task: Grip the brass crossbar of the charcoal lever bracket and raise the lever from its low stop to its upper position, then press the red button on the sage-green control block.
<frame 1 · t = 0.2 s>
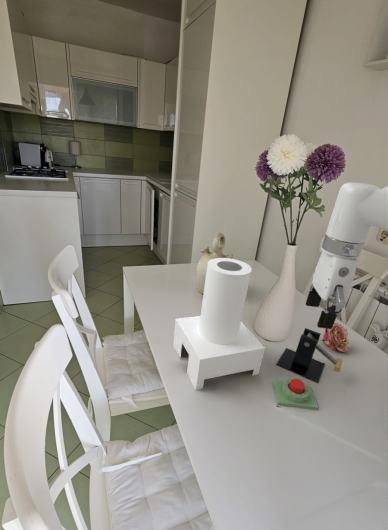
hand: (317, 316, 71), 23 cm above the table, tool pointing down, fingers open, 9 cm apart
flower: (333, 348, 101), on the table
button block: (292, 397, 79), on the table
bracket: (300, 367, 91), on the table
lever: (322, 351, 85), point 8 cm above the table, hinge at -25.0°
button: (296, 386, 77), point 4 cm above the table, slide at 0.2 cm
paper towel holder: (213, 361, 89), on the table
jug: (212, 291, 130), on the table
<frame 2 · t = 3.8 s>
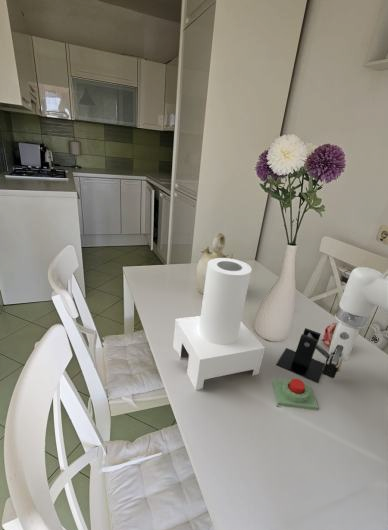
hand: (329, 369, 86), 3 cm above the table, tool pointing down, fingers closed on lever, 5 cm apart
lever: (322, 351, 85), point 8 cm above the table, hinge at -25.4°, touching gripper
everything else where it was.
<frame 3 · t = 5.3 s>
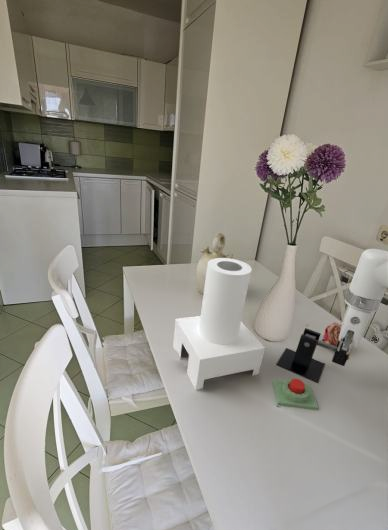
hand: (339, 357, 83), 8 cm above the table, tool pointing down, fingers closed on lever, 5 cm apart
lever: (326, 345, 84), point 10 cm above the table, hinge at 2.0°, touching gripper
everything else where it was.
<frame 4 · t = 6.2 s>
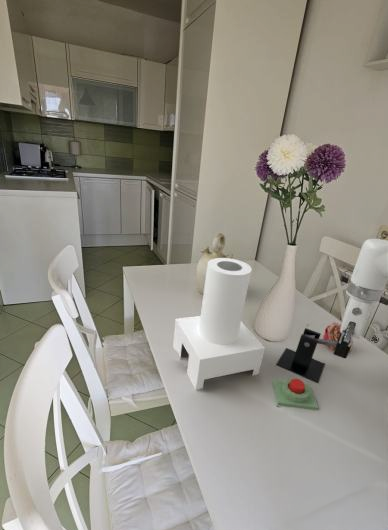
hand: (341, 349, 82), 11 cm above the table, tool pointing down, fingers closed on lever, 5 cm apart
lever: (327, 342, 84), point 11 cm above the table, hinge at 14.9°, touching gripper
everything else where it was.
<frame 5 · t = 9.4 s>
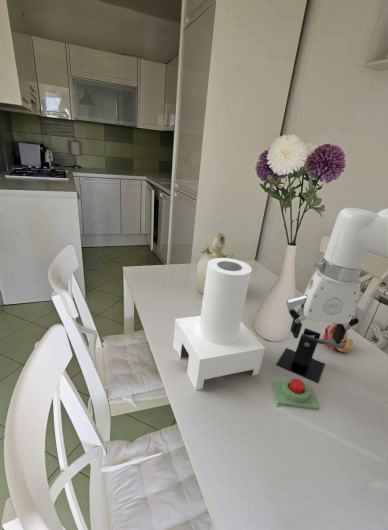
hand: (314, 337, 71), 19 cm above the table, tool pointing down, fingers open, 9 cm apart
lever: (327, 342, 83), point 11 cm above the table, hinge at 15.8°
everything else where it was.
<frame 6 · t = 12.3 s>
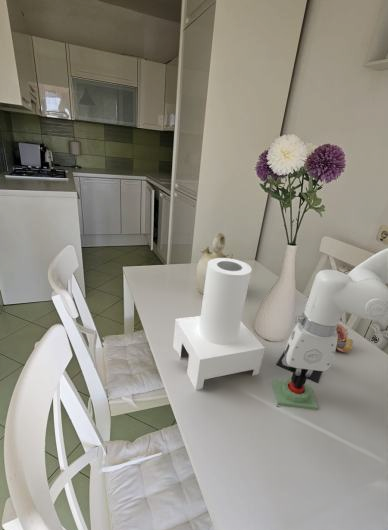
hand: (296, 384, 77), 5 cm above the table, tool pointing down, fingers closed
button: (296, 387, 77), point 4 cm above the table, slide at -0.1 cm, touching gripper
everything else where it was.
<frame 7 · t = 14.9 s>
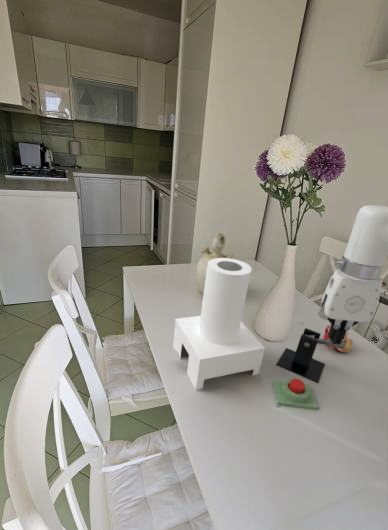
hand: (334, 340, 71), 19 cm above the table, tool pointing down, fingers closed
button: (296, 386, 77), point 4 cm above the table, slide at 0.2 cm
everything else where it was.
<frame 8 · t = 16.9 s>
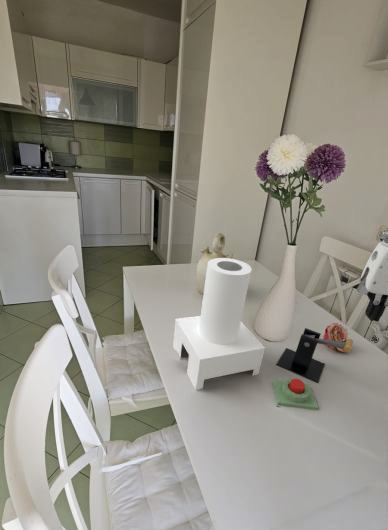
hand: (371, 317, 69), 25 cm above the table, tool pointing down, fingers closed
nothing on the table moved.
at the end: lever at +16° (first picture: -25°); button pushed in 1.1 cm at the most during the clip, back to 0.2 cm at the end; button slide at 0.2 cm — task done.
